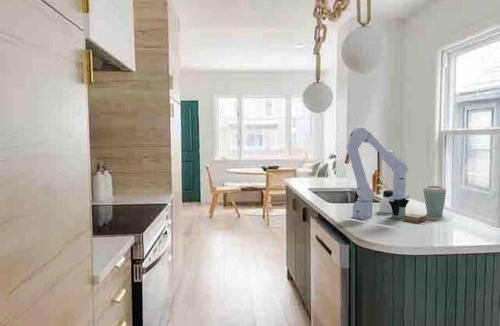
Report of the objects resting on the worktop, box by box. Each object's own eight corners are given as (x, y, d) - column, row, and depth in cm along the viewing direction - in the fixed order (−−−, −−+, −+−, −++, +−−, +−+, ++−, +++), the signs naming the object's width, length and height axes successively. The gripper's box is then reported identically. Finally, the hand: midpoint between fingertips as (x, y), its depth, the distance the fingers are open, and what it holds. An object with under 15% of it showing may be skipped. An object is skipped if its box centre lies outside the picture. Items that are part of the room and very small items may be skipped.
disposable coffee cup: (447, 219, 201) (448, 188, 200) (422, 217, 205) (423, 187, 204) (444, 215, 211) (445, 185, 210) (421, 214, 215) (422, 185, 214)
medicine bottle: (393, 215, 211) (393, 191, 211) (379, 213, 216) (380, 190, 215) (397, 213, 217) (398, 190, 216) (384, 211, 221) (384, 189, 221)
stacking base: (423, 227, 184) (423, 219, 184) (383, 219, 199) (383, 212, 199) (438, 222, 193) (439, 215, 193) (399, 216, 208) (399, 209, 208)
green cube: (400, 217, 199) (400, 208, 199) (391, 216, 202) (391, 207, 202) (405, 216, 202) (405, 207, 202) (396, 215, 205) (397, 206, 205)
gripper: (398, 188, 193) (397, 217, 194) (414, 186, 203) (414, 214, 204) (385, 187, 199) (384, 215, 200) (401, 185, 208) (400, 212, 209)
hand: (398, 214), depth 202 cm, fingers closed on green cube, 4 cm apart
